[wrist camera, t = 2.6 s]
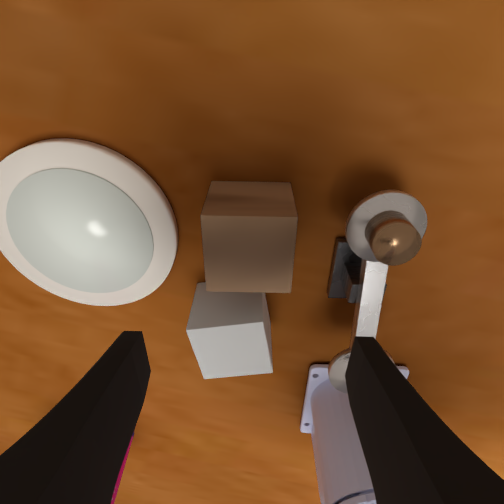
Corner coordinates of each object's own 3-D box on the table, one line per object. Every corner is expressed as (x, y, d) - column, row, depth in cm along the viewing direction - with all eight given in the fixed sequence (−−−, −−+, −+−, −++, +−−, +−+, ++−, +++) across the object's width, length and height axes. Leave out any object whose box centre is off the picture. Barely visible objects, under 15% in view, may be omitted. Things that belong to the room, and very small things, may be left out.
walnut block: (285, 248, 22) (290, 293, 18) (215, 247, 22) (206, 291, 18) (290, 181, 19) (297, 217, 15) (211, 180, 19) (200, 215, 16)
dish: (186, 298, 24) (182, 309, 23) (31, 294, 24) (21, 306, 23) (167, 140, 18) (162, 146, 17) (-38, 136, 18) (-55, 142, 17)
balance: (366, 336, 26) (387, 395, 22) (314, 335, 26) (325, 394, 22) (412, 172, 19) (457, 211, 15) (340, 170, 19) (364, 209, 15)
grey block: (270, 322, 25) (272, 372, 21) (212, 328, 26) (204, 379, 22) (261, 274, 23) (262, 321, 19) (197, 282, 23) (186, 330, 20)
